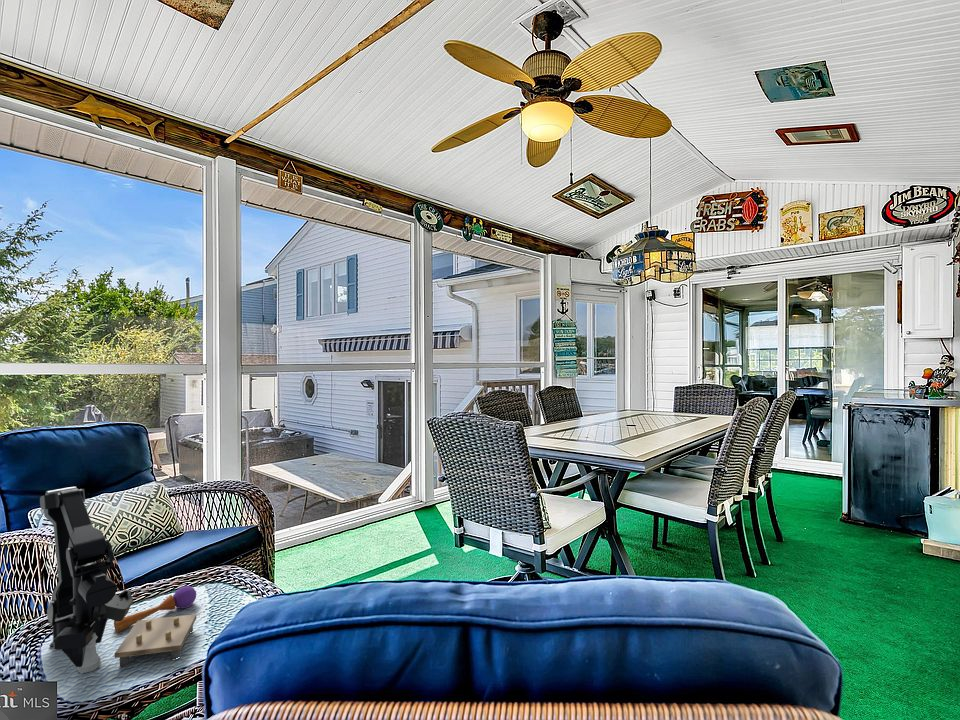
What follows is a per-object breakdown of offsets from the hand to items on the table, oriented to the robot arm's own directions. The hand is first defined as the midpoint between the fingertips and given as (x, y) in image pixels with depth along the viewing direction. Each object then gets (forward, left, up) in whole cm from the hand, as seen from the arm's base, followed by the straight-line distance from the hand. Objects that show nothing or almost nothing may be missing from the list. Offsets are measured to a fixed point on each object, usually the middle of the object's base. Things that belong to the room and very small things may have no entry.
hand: (89, 654), depth 120 cm
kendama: (+8, +21, -4) cm, 23 cm away
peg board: (+13, +5, -3) cm, 14 cm away
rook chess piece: (0, 0, -4) cm, 4 cm away
